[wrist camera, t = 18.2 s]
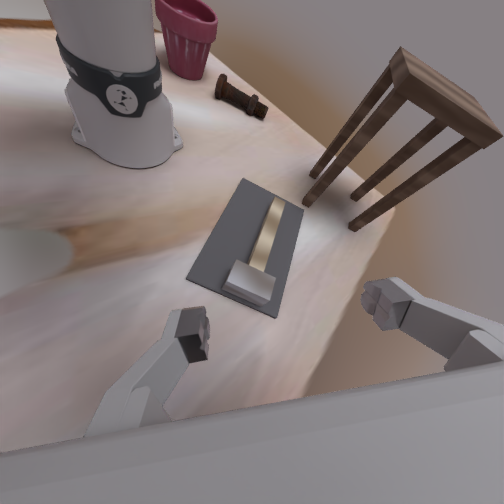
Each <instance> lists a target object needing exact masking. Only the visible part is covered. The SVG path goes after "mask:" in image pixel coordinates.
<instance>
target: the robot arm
mask: <svg viewBox="0 0 504 504" xmlns="http://www.w3.org/2000/svg"><path fill="white" fill-rule="evenodd" d="M44 2H45V5H46V7H47V10H48V12H49V14H50V17H51V19H52V22H53V24H54V27H55V29H56V32H57V36H56V41H57V44H58V47H59V51H60V55H61V57H62V60H63V62H64V64H65V65H66V68H67V70H68V72H69V75H70V76H71V79H69V82H68V84H67V87H66V89H65V94H66V97H67V100H68V102H69V105H70V107H71V109H72V112H73V114H74V117H75V119H76V121H75V124H74V127H73V130H72V133H71V135H72V138H73V141H74V142H76V143H78V144H80V145H82V146H85V147H87V148H90V149H91V150H93V151H94V152H95V153H96V154H98V155H99V156H100V157H102V158H103V159H105V160H107V161H109V162H111V163H113V164H116V165H120V166H124V167H130V168H148V167H153V166H156V165H159V164H161V163H163V162H165V161H166V160H167V159H168V158H169V157H170V156H171V154H172V153H173V152H174V151H176V150H178V149H180V148H182V147H183V141H182V139H181V137H180V135H179V134H178V132H177V130H176V129H175V127H174V122H173V110H172V104H171V103H169V101H168V99H167V97H166V96H165V95H164V94H163V93H162V82H161V81H162V74H161V70H160V62H159V59H158V57H157V56H156V50H155V38H154V27H153V16H152V5H151V0H44ZM363 288H364V289H365V291H364V292H363V294H361V304H362V306H363V308H364V310H365V311H366V312H367V313H368V314H371V315H372V316H373V321H374V322H375V323H376V324H377V325H378V327H379V328H380V329H381V330H382V331H385V330H392V329H399V328H400V330H401V331H403V332H405V333H406V334H408V335H409V336H411V337H413V338H414V339H416V340H418V341H419V342H421V343H423V344H424V345H426V346H427V347H429V348H431V349H432V350H434V351H436V352H437V353H439V354H440V355H442V356H444V357H445V358H447V359H449V360H448V361H447V363H446V364H445V366H444V370H445V371H446V372H440V373H435V374H429V375H424V376H418V377H413V378H407V379H402V380H396V381H391V382H385V383H380V384H374V385H369V386H364V387H358V388H352V389H347V390H341V391H336V392H331V393H325V394H320V395H314V396H308V397H303V398H298V399H292V400H287V401H281V402H276V403H270V404H265V405H259V406H254V407H248V408H243V409H237V410H232V411H227V412H221V413H216V414H210V415H205V416H199V417H194V418H188V419H183V420H177V421H172V422H171V419H170V417H169V416H168V414H167V413H166V411H165V410H164V408H163V407H162V406H163V404H164V403H165V401H166V400H167V398H168V397H169V395H170V393H171V392H172V390H173V389H174V387H175V386H176V384H177V383H178V381H179V379H180V378H181V376H182V375H183V373H184V372H185V370H186V369H187V367H188V365H189V363H194V362H199V361H204V360H208V351H209V345H208V342H207V341H208V339H209V338H210V324H209V319H208V318H207V317H206V309H205V307H204V306H199V307H191V308H183V309H177V310H172V311H171V312H170V315H169V318H168V320H167V323H166V326H165V329H164V332H163V335H162V338H161V340H159V341H157V342H156V343H155V344H154V345H153V346H152V347H151V348H150V349H149V350H148V351H147V352H146V353H145V354H144V355H143V356H141V357H140V358H139V359H138V360H137V361H136V362H135V363H134V364H133V365H132V366H131V367H130V368H129V369H128V370H127V371H126V372H125V373H124V374H123V375H122V376H121V377H120V378H119V379H118V380H117V381H116V382H115V383H114V384H113V385H112V386H111V387H110V388H109V389H108V390H107V391H106V392H105V394H104V396H103V398H102V401H101V403H100V405H99V407H98V409H97V411H96V413H95V415H94V417H93V419H92V421H91V423H90V425H89V427H88V429H87V431H86V433H85V435H84V437H83V438H79V439H74V440H68V441H63V442H57V443H52V444H46V445H41V446H35V447H30V448H24V449H19V450H13V451H8V452H2V453H0V504H504V325H502V324H500V323H497V322H494V321H491V320H489V319H486V318H483V317H480V316H478V315H475V314H472V313H469V312H467V311H464V310H461V309H458V308H456V307H453V306H450V305H447V304H444V303H442V302H439V301H436V300H434V299H431V298H425V297H424V296H422V295H421V294H420V293H418V292H417V291H416V290H414V289H413V288H412V287H410V286H409V285H408V284H407V283H405V282H404V281H402V280H401V279H400V278H397V277H391V278H386V279H379V280H373V281H367V282H366V283H365V284H364V287H363Z"/></svg>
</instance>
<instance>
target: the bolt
mask: <svg viewBox="0 0 504 504" xmlns="http://www.w3.org/2000/svg"><path fill="white" fill-rule="evenodd" d="M215 97H216V98H217V99H219V100H220V99H221V98H222V97H225V98H226V99H230V100H231V101H233V102H235V103H236V104H238V105H241V106H242V107H244V108H245V109H247V114H249V115H251V116H252V115H253V113H254V114H255V115H257V116H259V117H261V118H262V119H263V118H265V116H266V113H267V111H268V107H267V106H265V105H263V104H262V103H260V102H259V101H258V99H259V98H258V96H257V95H255V94H254V95H252V97H249V96H248V95H247V94H245V93H244V92H242V91H239V90H238V89H236V88H235V87H234V86H232V85H231V84H229V83H228V82H227V76H226V75H225V74H220V76H219V78H218V80H217V83H216V88H215Z"/></svg>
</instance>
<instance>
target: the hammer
mask: <svg viewBox="0 0 504 504" xmlns="http://www.w3.org/2000/svg"><path fill="white" fill-rule="evenodd" d="M285 203H286V202H285V201H283V200H281V199H279V198H277V197H274V199H273V200H272V202H271V204H270V206H269V209H268V211H267V214H266V216H265V219H264V222H263V224H262V227H261V229H260V232H259V235H258V237H257V240H256V242H255V245H254V248H253V250H252V253H251V255H250V258H249V261H248V263H247V264H245V263H243V262H241V261H239V260H237V259H236V261H235V262H234V264H233V266H232V267H231V269H230V271H229V274H228V276H227V278H226V280H225V283H224V285H223V287H222V289H223V290H225V291H227V292H229V293H231V294H234V295H236V296H238V297H240V298H243V299H245V300H247V301H249V302H252V303H254V304H256V305H258V306H263V305H264V304H266V303H267V302H269V301H270V298H271V295H272V291H273V287H274V283H275V280H276V278H275V277H273V276H271V275H269V274H267V273H265V272H264V270H265V266H266V263H267V260H268V257H269V254H270V251H271V247H272V244H273V241H274V238H275V235H276V231H277V228H278V225H279V222H280V219H281V216H282V212H283V209H284V206H285Z"/></svg>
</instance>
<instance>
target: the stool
mask: <svg viewBox="0 0 504 504" xmlns="http://www.w3.org/2000/svg"><path fill="white" fill-rule="evenodd" d="M392 83H393V84H394V88H393V89H392V91H391V92H390V93H389V94H388V96H387V97H386V98H385V99H384V100H383V102H382V103H381V104H380V105H379V106H378V108H377V109H376V110H375V111H374V112H373V114H372V115H371V116H370V117H369V119H368V120H367V121H366V122H365V123H364V125H363V126H362V127H361V128H360V130H359V131H358V132H357V133H356V135H355V136H354V137H353V138H352V139H351V141H350V142H349V143H348V144H347V145H346V147H345V148H344V149H343V150H342V152H341V153H340V154H339V155H338V156H337V158H336V159H335V160H334V161H333V163H332V164H331V165H330V166H329V167H328V169H327V170H326V171H325V172H324V174H323V175H322V176H321V177H320V178H319V180H318V181H317V182H316V183H315V185H314V186H313V187H312V188H311V189H310V191H309V192H308V193H307V194H306V196H305V197H304V198H303V201H302V204H303V205H305V206H307V207H308V208H309V207H310V206H311V205H312V204H313V202H314V201H315V200H316V199H317V198H318V197H319V196H320V195H321V194H322V193H323V191H324V190H325V189H326V188H327V187H328V186H329V185H330V184H331V183H332V182H333V180H334V179H335V178H336V177H337V176H338V175H339V174H340V173H341V172H342V171H343V170H344V168H345V167H346V166H347V165H348V164H349V163H350V162H351V161H352V160H353V159H354V157H355V156H356V155H357V154H358V153H359V152H360V151H361V150H362V149H363V148H364V147H365V145H366V144H367V143H368V142H369V141H370V140H371V139H372V138H373V137H374V136H375V134H376V133H377V132H378V131H379V130H380V129H381V128H382V126H384V125H385V123H386V122H387V121H388V120H389V119H390V118H391V117H392V116H393V115H394V113H396V111H397V110H398V109H399V108H400V107H401V106H402V105H403V104H404V103H405V102H406V100H407V99H408V100H409V101H411V102H412V103H414V104H415V105H417V106H419V107H420V108H422V109H423V110H425V111H426V112H428V113H429V114H431V115H432V116H434V117H435V119H434V120H432V121H431V122H430V123H429V124H428V125H427V126H426V127H425V128H424V129H423V130H421V131H420V132H419V133H418V134H417V135H416V136H415V137H414V138H412V139H411V140H410V141H409V142H408V143H407V144H406V145H405V146H404V147H402V148H401V149H400V150H399V151H398V152H397V153H396V154H395V155H394V156H393V157H391V159H389V160H388V161H387V162H386V163H385V164H384V165H383V166H381V167H380V168H379V169H378V170H377V171H376V172H375V173H374V174H373V175H371V176H370V177H369V178H368V179H367V180H366V181H365V182H364V183H363V184H361V185H360V186H359V187H358V188H357V189H356V190H355V191H354V192H353V193H352V194H351V199H352V200H354V201H356V202H357V201H358V200H359V199H360V198H362V197H363V196H364V195H365V194H366V193H368V192H369V191H370V190H371V189H373V188H374V187H375V186H376V185H377V184H378V183H380V182H381V181H382V180H383V179H384V178H386V177H387V176H388V175H389V174H391V173H392V172H393V171H394V170H395V169H397V168H398V167H399V166H400V165H401V164H403V163H404V162H405V161H406V160H407V159H409V158H410V157H411V156H412V155H413V154H415V153H416V152H417V151H418V150H419V149H421V148H422V147H423V146H424V145H425V144H427V143H428V142H429V141H430V140H432V139H433V138H434V137H435V136H436V135H437V134H439V133H440V132H441V131H442V130H444V129H445V128H446V127H447V126H449V127H451V128H452V129H454V130H455V131H457V132H458V133H460V134H461V135H463V136H464V138H463V139H462V140H460V141H459V142H457V143H456V144H455V145H453V146H452V147H451V148H449V149H448V150H446V151H445V152H444V153H442V154H441V155H440V156H438V157H437V158H436V159H435V160H433V161H432V162H430V163H429V164H428V165H426V166H425V167H424V168H422V169H421V170H420V171H418V172H417V173H415V174H414V175H413V176H412V177H410V178H409V179H408V180H406V181H405V182H403V183H402V184H401V185H399V186H398V187H397V188H395V189H394V190H393V191H391V192H390V193H389V194H387V195H386V196H384V197H383V198H382V199H380V200H379V201H378V202H376V203H375V204H374V205H372V206H371V207H370V208H368V209H367V210H366V211H364V212H363V213H362V214H360V215H359V216H358V217H356V218H355V219H353V220H352V221H351V222H349V228H348V229H350V230H352V231H354V232H356V231H358V230H359V229H361V228H362V227H364V226H365V225H367V224H368V223H370V222H371V221H373V220H374V219H376V218H377V217H379V216H380V215H382V214H383V213H385V212H386V211H388V210H389V209H391V208H392V207H394V206H395V205H397V204H398V203H399V202H401V201H403V200H404V199H406V198H407V197H409V196H410V195H412V194H413V193H415V192H416V191H418V190H419V189H421V188H422V187H424V186H425V185H427V184H428V183H430V182H431V181H433V180H434V179H436V178H438V177H439V176H441V175H442V174H444V173H445V172H446V171H448V170H450V169H451V168H453V167H454V166H456V165H457V164H459V163H460V162H461V161H463V160H465V159H466V158H468V157H469V156H470V155H472V154H474V153H475V152H477V151H478V150H480V149H481V148H483V149H485V148H486V147H488V146H489V145H491V144H492V143H494V142H496V141H497V140H499V139H500V138H502V137H503V135H502V134H501V132H500V131H499V130H498V128H497V127H496V126H495V124H494V123H493V122H492V120H491V119H490V118H489V117H488V115H487V114H486V112H485V111H484V110H483V108H482V107H481V106H480V104H479V103H478V102H477V100H476V99H475V98H474V97H473V96H472V95H470V94H469V93H467V92H466V91H464V90H463V89H461V88H460V87H459V86H457V85H456V84H454V83H453V82H451V81H450V80H448V79H447V78H446V77H444V76H442V75H441V74H440V73H438V72H437V71H435V70H434V69H432V68H431V67H430V66H428V65H427V64H425V63H424V62H422V61H421V60H419V59H418V58H416V57H415V56H414V55H412V54H411V53H409V52H408V51H406V50H405V49H404V48H402V47H400V48H399V49H398V50H397V52H396V53H395V54H394V56H393V57H392V59H391V60H390V62H389V65H388V67H387V68H386V69H385V70H384V72H383V73H382V75H381V76H380V77H379V79H378V80H377V81H376V83H375V84H374V85H373V87H372V88H371V90H370V91H369V92H368V94H367V95H366V96H365V98H364V99H363V101H362V102H361V103H360V105H359V106H358V107H357V109H356V110H355V111H354V113H353V114H352V116H351V117H350V118H349V120H348V121H347V122H346V124H345V125H344V126H343V128H342V129H341V130H340V132H339V133H338V135H337V136H336V137H335V139H334V140H333V141H332V143H331V144H330V145H329V147H328V148H327V150H326V151H325V152H324V154H323V155H322V156H321V158H320V159H319V160H318V162H317V163H316V165H315V166H314V167H313V169H312V170H311V171H310V175H309V176H311V177H313V178H314V179H316V178H317V177H318V175H319V174H320V173H321V172H322V170H323V169H324V168H325V167H326V165H327V164H328V163H329V162H330V160H331V159H332V158H333V157H334V155H335V154H336V153H337V152H338V150H339V149H340V148H341V146H342V145H343V144H344V143H345V142H346V140H347V139H348V138H349V136H350V135H351V134H352V133H353V132H354V130H355V129H356V128H357V126H358V125H359V124H360V123H361V121H362V120H363V119H364V118H365V116H366V115H367V114H368V113H369V111H370V110H371V109H372V108H373V106H374V105H375V104H376V103H377V101H378V100H379V99H380V98H381V96H382V95H383V94H384V93H385V91H386V90H387V89H388V88H389V86H390V85H391V84H392Z"/></svg>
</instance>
